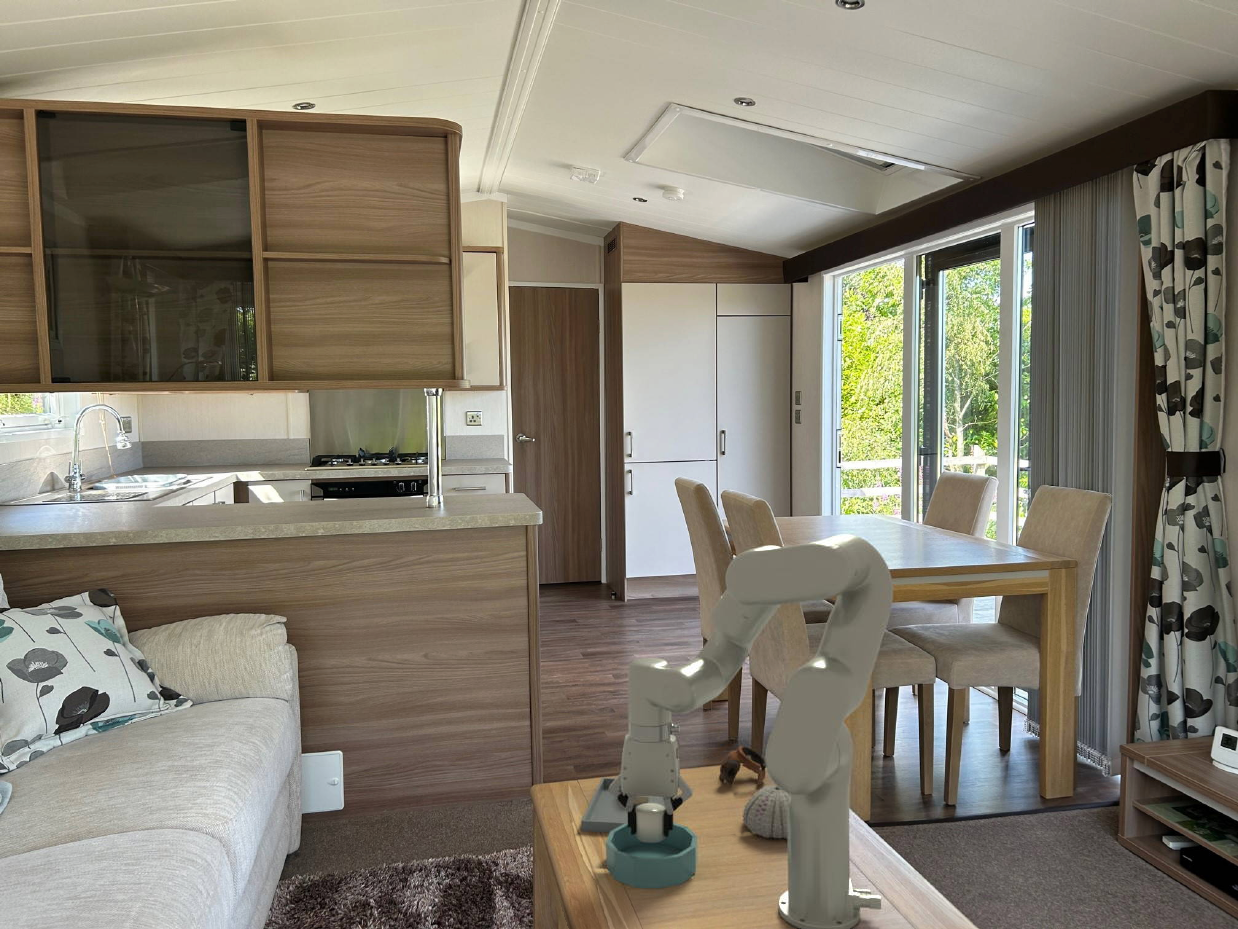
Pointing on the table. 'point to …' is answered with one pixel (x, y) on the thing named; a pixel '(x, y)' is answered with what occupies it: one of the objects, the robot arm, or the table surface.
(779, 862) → the table surface
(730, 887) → the table surface
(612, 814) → the parts tray
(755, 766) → the brown animal figurine
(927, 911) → the table surface
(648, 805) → the pale stone
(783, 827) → the sea urchin shell
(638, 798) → the sand stone
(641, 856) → the bowl
